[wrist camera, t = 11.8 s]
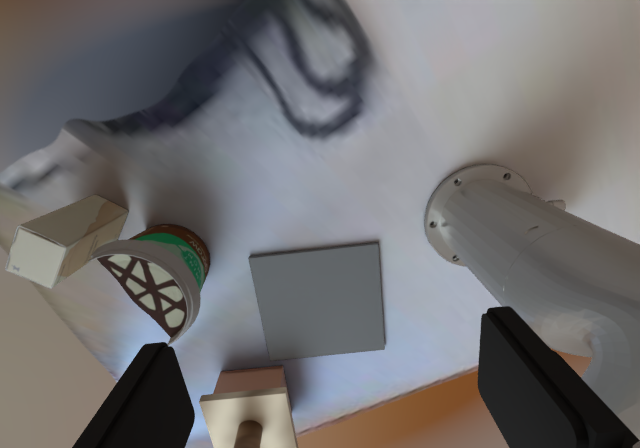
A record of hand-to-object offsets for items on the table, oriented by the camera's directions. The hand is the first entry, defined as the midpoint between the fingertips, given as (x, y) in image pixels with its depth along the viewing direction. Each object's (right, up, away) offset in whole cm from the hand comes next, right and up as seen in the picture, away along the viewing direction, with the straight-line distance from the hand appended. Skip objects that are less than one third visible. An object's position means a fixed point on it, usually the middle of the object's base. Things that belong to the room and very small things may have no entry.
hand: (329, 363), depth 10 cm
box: (-26, +5, +30) cm, 40 cm away
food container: (-16, +1, +32) cm, 36 cm away
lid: (-9, -22, +35) cm, 43 cm away
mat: (0, -6, +35) cm, 35 cm away
